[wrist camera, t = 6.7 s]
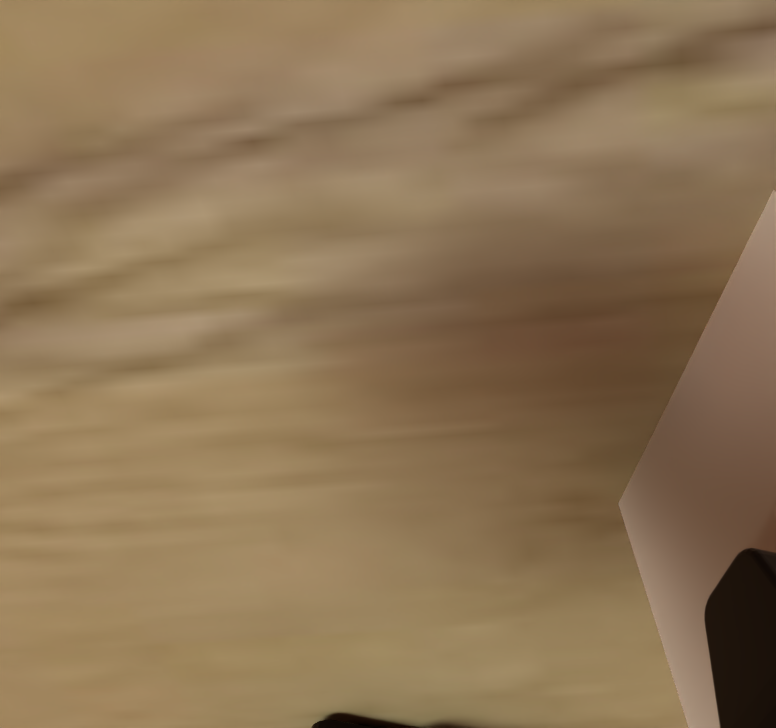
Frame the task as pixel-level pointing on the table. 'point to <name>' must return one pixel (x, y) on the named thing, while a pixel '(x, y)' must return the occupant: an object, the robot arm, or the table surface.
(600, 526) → the table surface
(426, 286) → the table surface
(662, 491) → the walnut cube
